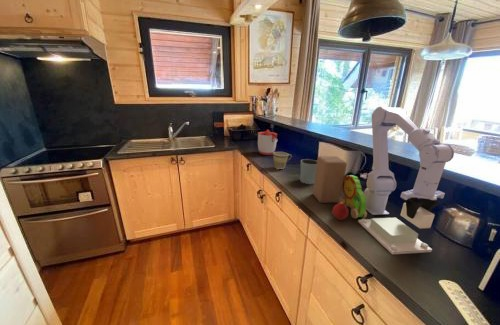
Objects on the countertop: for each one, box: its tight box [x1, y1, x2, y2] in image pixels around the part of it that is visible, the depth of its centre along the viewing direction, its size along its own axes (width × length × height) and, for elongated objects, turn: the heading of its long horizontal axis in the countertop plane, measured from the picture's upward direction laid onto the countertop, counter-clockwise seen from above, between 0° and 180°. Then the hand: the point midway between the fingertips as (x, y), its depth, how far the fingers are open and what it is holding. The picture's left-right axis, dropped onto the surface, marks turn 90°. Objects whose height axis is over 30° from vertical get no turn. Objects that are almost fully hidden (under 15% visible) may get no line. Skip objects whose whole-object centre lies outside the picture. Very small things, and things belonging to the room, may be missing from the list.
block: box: [312, 155, 347, 204], centre depth 99 cm, size 10×10×20 cm
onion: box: [332, 202, 349, 221], centre depth 84 cm, size 6×6×8 cm
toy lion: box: [338, 174, 368, 219], centre depth 90 cm, size 16×5×15 cm, turn 5°
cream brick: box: [400, 202, 436, 229], centre depth 73 cm, size 8×4×5 cm, turn 8°
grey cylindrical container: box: [299, 158, 317, 185], centre depth 120 cm, size 10×10×12 cm
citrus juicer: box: [257, 129, 278, 156], centre depth 172 cm, size 16×17×20 cm
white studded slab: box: [357, 217, 433, 255], centre depth 76 cm, size 18×14×4 cm
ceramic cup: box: [272, 151, 293, 170], centre depth 141 cm, size 13×10×10 cm
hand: (415, 216), depth 73 cm, fingers closed on cream brick, 4 cm apart
